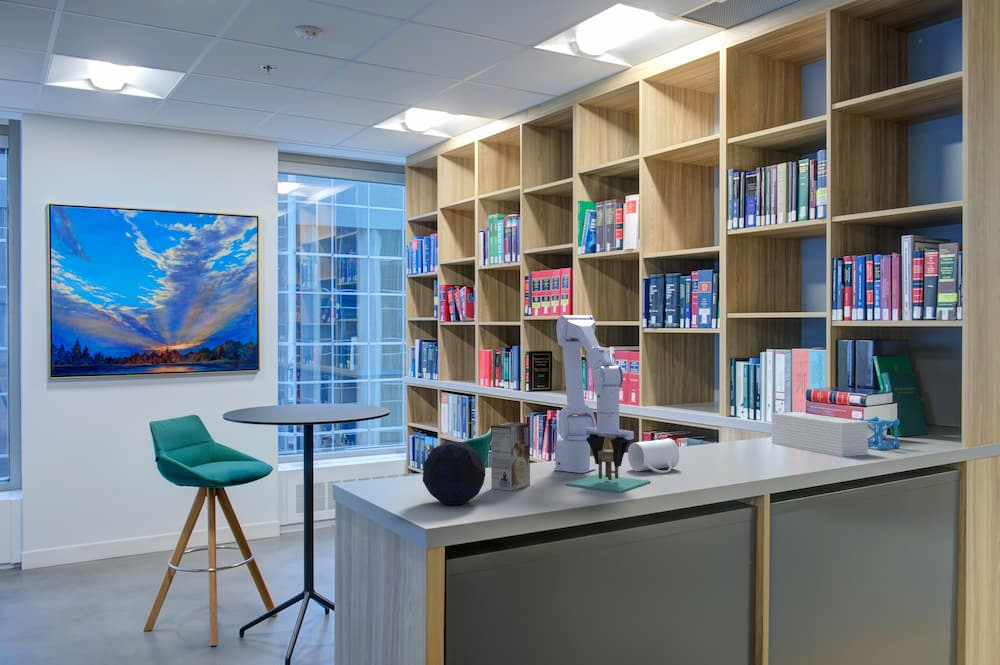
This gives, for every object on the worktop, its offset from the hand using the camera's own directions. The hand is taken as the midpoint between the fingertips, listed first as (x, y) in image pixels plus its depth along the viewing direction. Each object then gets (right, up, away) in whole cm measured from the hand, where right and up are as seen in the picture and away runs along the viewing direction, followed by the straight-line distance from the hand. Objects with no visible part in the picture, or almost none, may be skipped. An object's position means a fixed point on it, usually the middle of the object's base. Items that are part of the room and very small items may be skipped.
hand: (608, 465), depth 204 cm
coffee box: (-25, -5, -3) cm, 26 cm away
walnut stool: (0, -3, 0) cm, 3 cm away
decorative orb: (-39, -5, -22) cm, 45 cm away
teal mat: (0, -5, 0) cm, 5 cm away
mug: (+22, -2, +23) cm, 32 cm away
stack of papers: (+78, -5, +60) cm, 99 cm away
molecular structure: (+99, -5, +61) cm, 117 cm away
